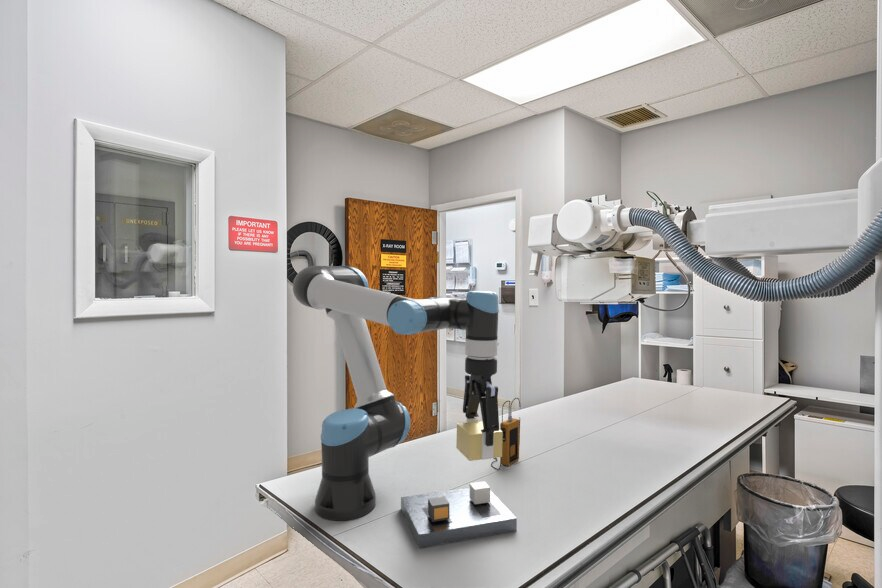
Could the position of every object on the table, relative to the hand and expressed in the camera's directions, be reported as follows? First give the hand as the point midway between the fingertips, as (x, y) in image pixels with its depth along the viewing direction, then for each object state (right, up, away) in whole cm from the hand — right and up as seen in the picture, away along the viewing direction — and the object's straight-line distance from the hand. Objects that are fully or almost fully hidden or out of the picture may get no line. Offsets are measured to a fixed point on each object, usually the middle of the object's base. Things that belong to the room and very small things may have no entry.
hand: (479, 451), depth 112 cm
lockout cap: (0, 0, 0) cm, 0 cm away
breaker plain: (0, -13, +3) cm, 14 cm away
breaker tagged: (-10, -13, -5) cm, 17 cm away
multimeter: (+10, -16, +38) cm, 42 cm away
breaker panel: (-5, -17, +1) cm, 17 cm away
